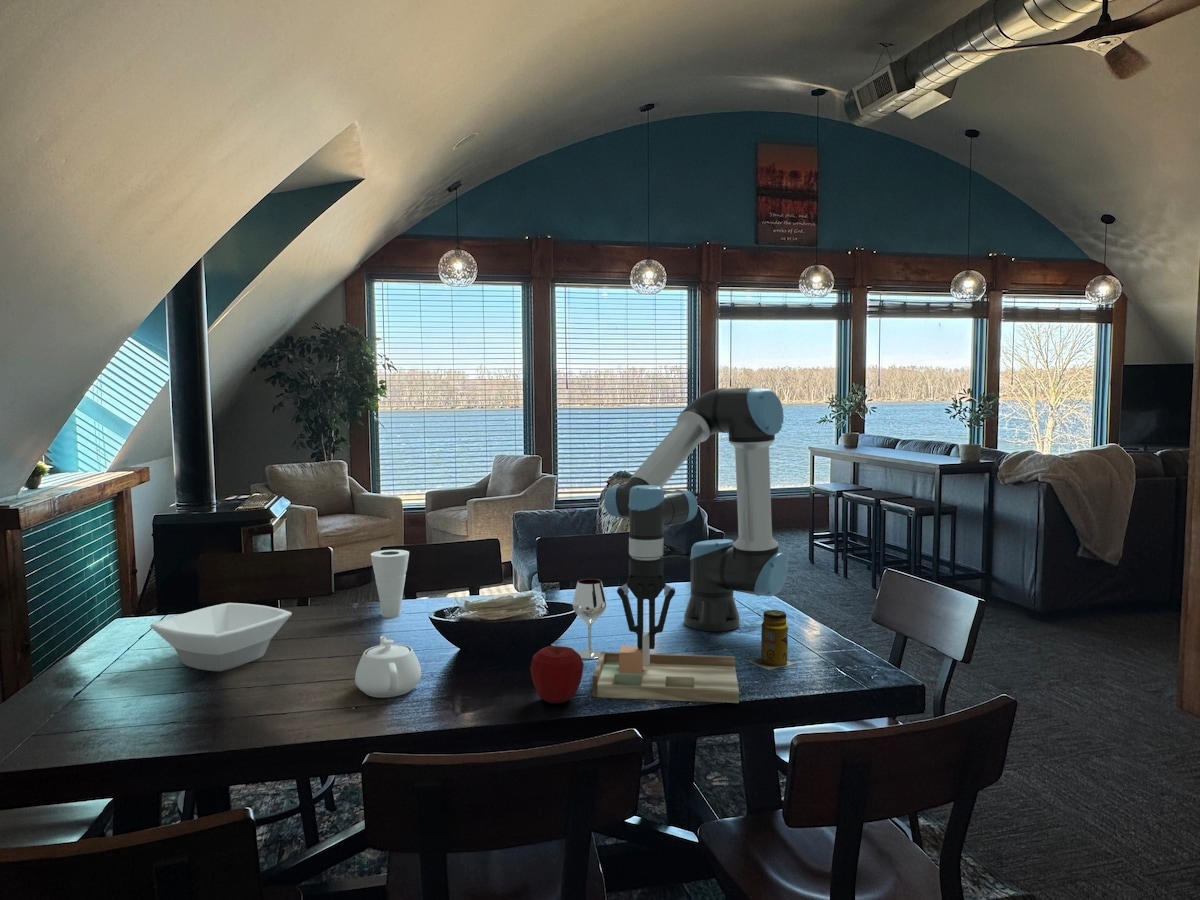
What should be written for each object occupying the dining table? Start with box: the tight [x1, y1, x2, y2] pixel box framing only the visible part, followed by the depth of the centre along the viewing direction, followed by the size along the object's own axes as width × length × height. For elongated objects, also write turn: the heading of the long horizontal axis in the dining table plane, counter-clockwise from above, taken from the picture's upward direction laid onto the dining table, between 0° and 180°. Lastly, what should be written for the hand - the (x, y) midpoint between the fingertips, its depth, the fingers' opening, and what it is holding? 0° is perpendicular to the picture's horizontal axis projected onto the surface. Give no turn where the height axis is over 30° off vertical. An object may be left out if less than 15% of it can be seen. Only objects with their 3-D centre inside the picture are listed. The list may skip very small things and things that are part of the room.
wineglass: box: [572, 578, 608, 660], centre depth 192 cm, size 8×8×18 cm
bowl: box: [150, 602, 292, 672], centre depth 190 cm, size 24×25×10 cm
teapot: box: [354, 635, 422, 699], centre depth 170 cm, size 22×14×11 cm, turn 21°
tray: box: [592, 651, 740, 704], centre depth 172 cm, size 16×30×4 cm, turn 84°
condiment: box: [747, 609, 796, 671], centre depth 187 cm, size 7×8×12 cm
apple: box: [529, 645, 585, 705], centre depth 163 cm, size 11×11×12 cm
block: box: [618, 644, 643, 674], centre depth 175 cm, size 5×5×4 cm
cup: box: [370, 549, 410, 619], centre depth 228 cm, size 11×11×18 cm
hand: (646, 662), depth 175 cm, fingers closed
